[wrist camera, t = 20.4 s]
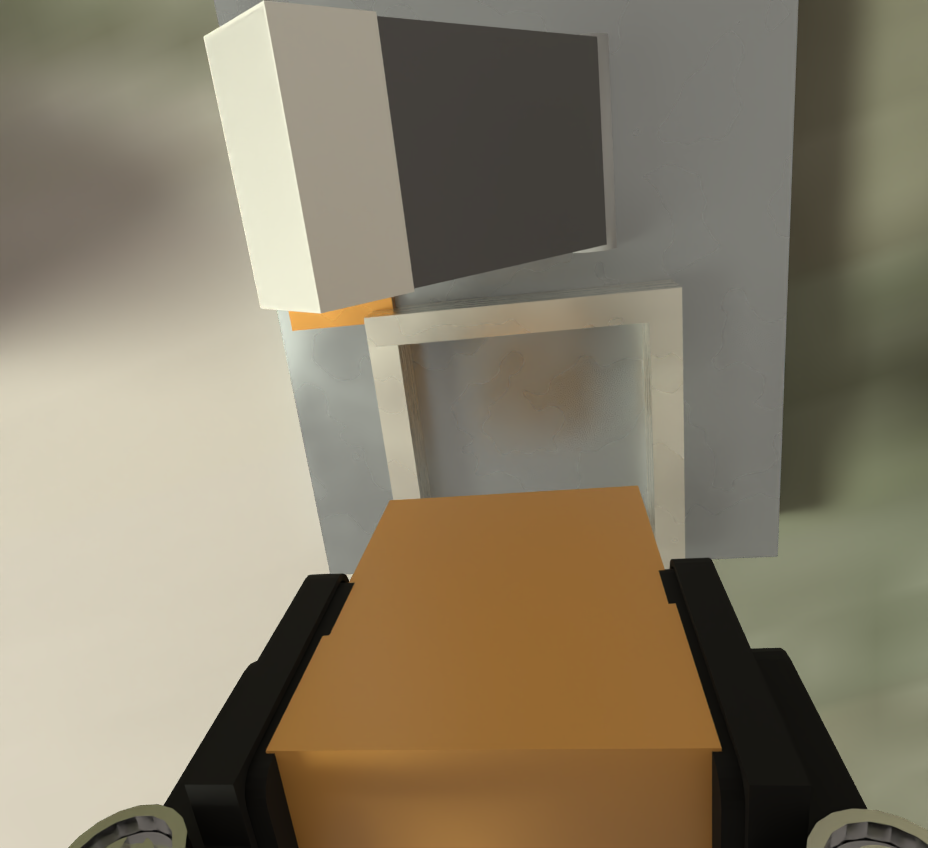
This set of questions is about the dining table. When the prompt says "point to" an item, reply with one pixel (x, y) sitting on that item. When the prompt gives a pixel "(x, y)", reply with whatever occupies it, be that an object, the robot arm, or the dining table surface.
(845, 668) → the dining table surface
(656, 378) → the breaker panel
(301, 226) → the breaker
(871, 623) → the dining table surface
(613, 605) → the orange rectangular block
